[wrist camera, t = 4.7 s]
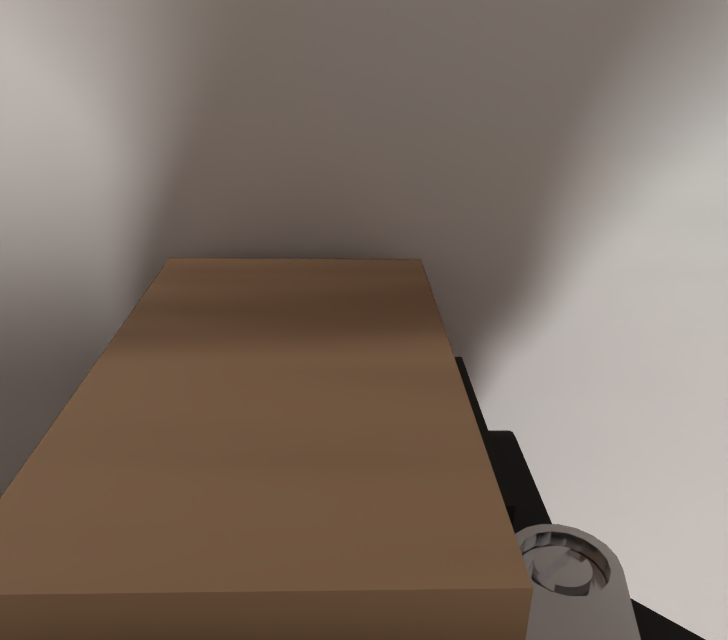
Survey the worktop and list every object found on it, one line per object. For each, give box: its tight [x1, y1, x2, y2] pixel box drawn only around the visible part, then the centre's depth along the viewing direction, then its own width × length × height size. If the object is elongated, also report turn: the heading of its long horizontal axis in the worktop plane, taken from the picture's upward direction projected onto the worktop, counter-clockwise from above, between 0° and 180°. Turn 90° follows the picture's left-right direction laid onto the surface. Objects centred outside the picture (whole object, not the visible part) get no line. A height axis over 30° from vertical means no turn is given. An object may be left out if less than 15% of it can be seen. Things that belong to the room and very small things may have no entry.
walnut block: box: [0, 258, 533, 640], centre depth 9 cm, size 6×4×7 cm, turn 179°
